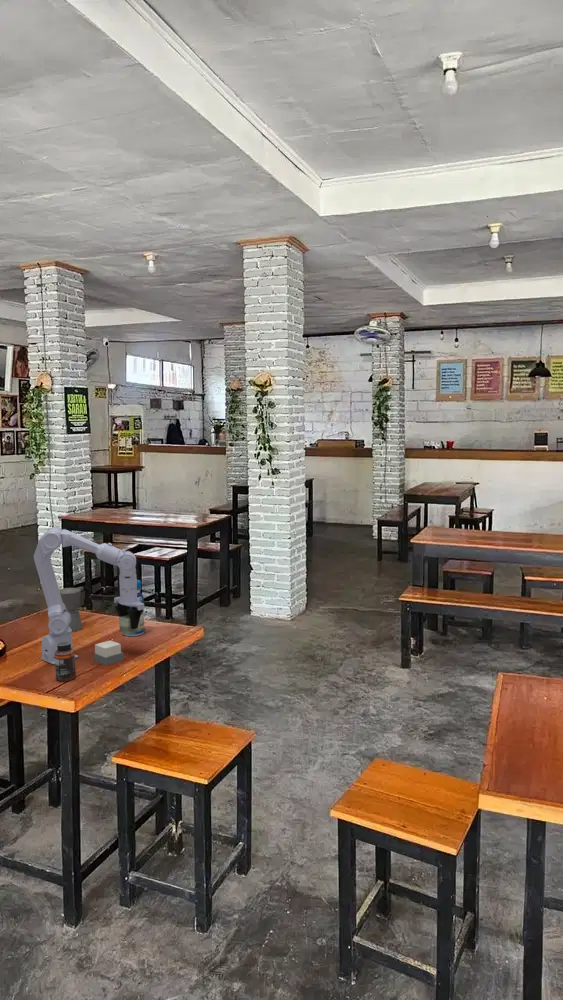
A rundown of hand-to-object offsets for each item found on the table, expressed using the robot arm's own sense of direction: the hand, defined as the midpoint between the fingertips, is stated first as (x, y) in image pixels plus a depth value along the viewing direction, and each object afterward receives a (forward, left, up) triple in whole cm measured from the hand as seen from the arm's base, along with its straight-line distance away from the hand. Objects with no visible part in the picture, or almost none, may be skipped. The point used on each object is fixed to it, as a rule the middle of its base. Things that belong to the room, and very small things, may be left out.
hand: (129, 626), depth 240 cm
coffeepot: (+3, +41, -10) cm, 42 cm away
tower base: (-9, 0, -10) cm, 13 cm away
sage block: (0, 0, -2) cm, 2 cm away
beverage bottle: (+14, +18, -10) cm, 25 cm away
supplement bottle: (-27, -4, -10) cm, 29 cm away
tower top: (-9, 0, -7) cm, 11 cm away
